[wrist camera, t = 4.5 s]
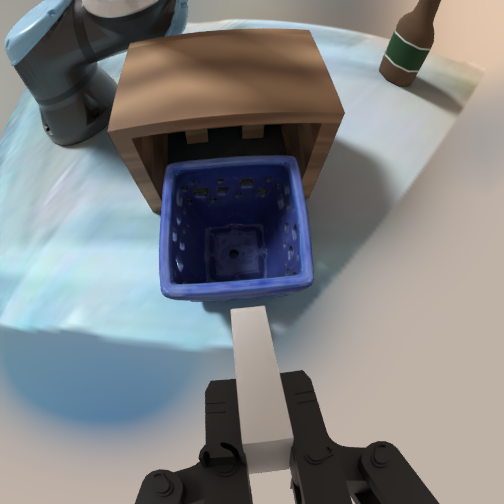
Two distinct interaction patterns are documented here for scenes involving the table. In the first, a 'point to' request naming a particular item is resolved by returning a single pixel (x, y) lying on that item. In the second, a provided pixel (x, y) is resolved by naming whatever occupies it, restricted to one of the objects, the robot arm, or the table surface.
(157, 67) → the shelf
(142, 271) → the table surface
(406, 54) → the beer bottle
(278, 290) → the flower pot
